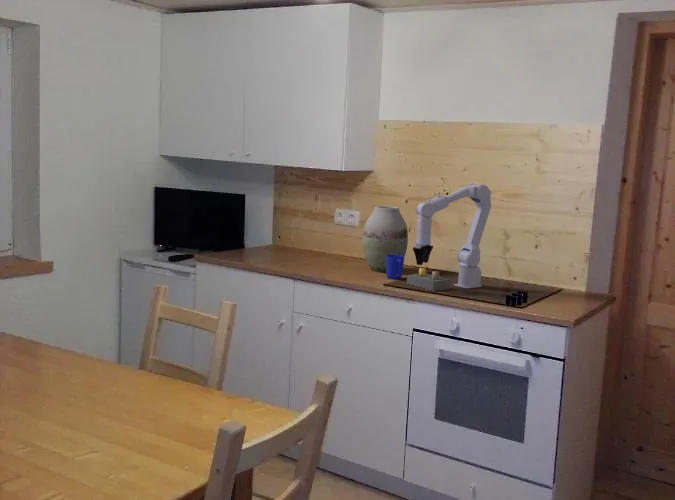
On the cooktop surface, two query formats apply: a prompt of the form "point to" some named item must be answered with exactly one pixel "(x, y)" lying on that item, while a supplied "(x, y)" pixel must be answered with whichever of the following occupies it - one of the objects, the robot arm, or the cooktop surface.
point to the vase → (384, 236)
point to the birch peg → (435, 275)
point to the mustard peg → (422, 272)
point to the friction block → (428, 282)
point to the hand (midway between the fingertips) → (422, 263)
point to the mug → (394, 266)
